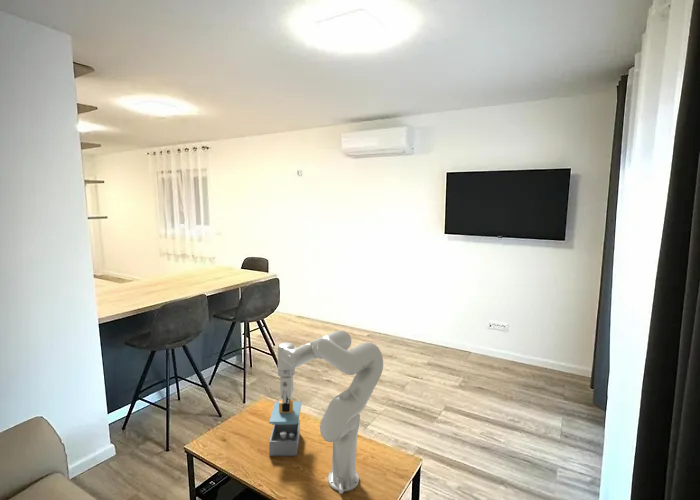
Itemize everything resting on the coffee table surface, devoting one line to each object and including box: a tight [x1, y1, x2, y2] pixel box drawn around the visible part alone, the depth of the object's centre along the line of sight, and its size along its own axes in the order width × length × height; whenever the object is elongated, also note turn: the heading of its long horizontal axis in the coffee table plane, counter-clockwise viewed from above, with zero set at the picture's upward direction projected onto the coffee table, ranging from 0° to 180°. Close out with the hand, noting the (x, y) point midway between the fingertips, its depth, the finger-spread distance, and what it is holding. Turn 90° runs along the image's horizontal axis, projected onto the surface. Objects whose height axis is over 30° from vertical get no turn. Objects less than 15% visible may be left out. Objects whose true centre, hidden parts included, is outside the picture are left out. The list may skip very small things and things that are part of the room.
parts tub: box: [268, 419, 301, 457], centre depth 173 cm, size 16×12×7 cm
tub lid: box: [268, 399, 302, 425], centre depth 171 cm, size 16×12×6 cm
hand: (286, 409), depth 171 cm, fingers closed on tub lid
